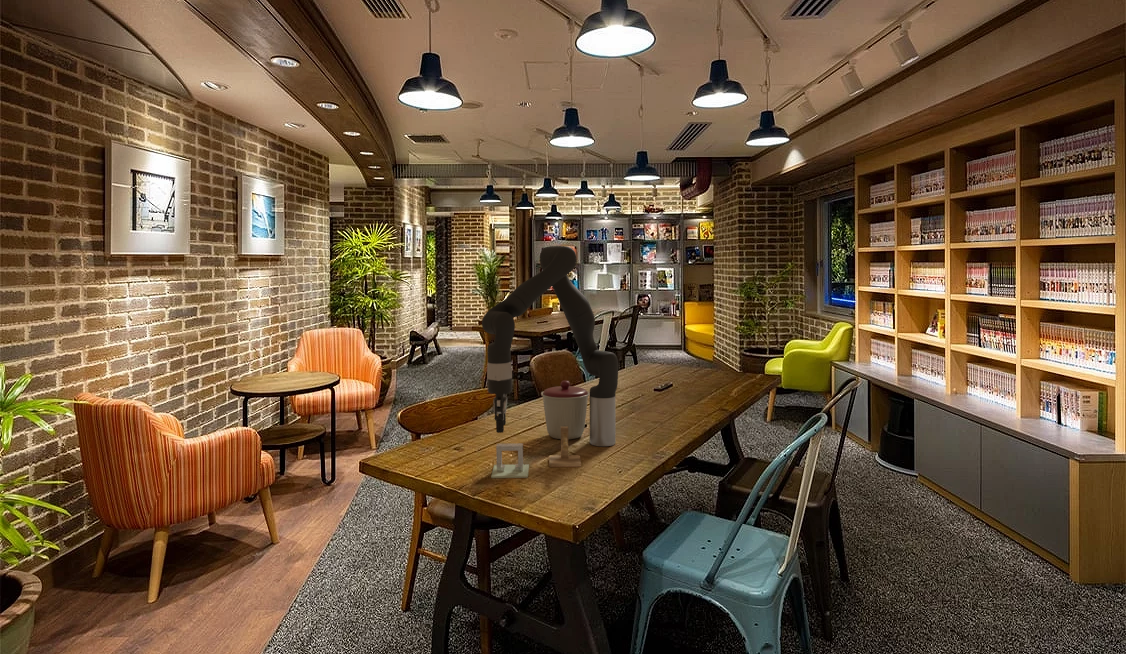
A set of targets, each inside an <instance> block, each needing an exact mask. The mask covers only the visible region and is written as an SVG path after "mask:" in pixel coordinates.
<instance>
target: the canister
mask: <svg viewBox="0 0 1126 654" xmlns="http://www.w3.org/2000/svg"><path fill="white" fill-rule="evenodd" d="M540 395H541V397H542V400H543V409H544V418H545V425H546V431H547V434H548V435H549V437H551V438H553V439H555V440H561V427H568V440H575V439H578V438H580V437H582V436H583V434H584V431H585V427H586V426H585V425H586V418H587V408H588V398H589V397H590V391H588V390H587V389H586V388H583V387H579V386H574V385H573V386H572V385H571V383H570V381H569V380H561V382H560V386H552V387H549V388H546V389H544V391H541V393H540Z"/></svg>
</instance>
